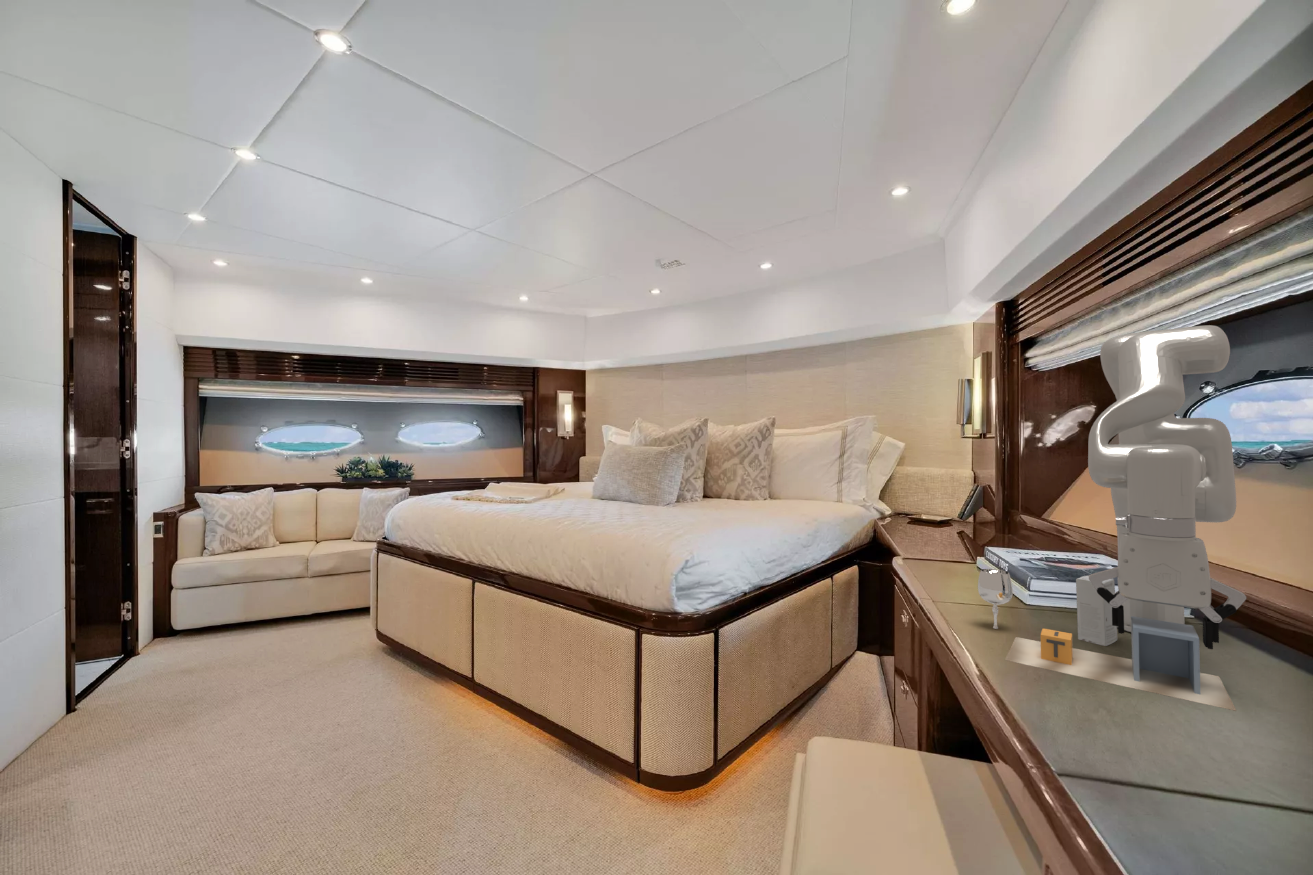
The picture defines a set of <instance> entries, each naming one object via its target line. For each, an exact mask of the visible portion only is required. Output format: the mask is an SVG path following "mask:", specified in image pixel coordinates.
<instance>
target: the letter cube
mask: <svg viewBox="0 0 1313 875" xmlns="http://www.w3.org/2000/svg"><path fill="white" fill-rule="evenodd" d="M1040 642H1041V659H1045V660H1050V661H1054V662H1059V663H1064V664H1069V665H1072V658H1073V652H1072V648H1073V633H1071V632H1064V631H1059V630H1055V629H1049V628H1042V629H1041V632H1040Z"/></svg>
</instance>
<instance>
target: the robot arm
mask: <svg viewBox="0 0 1313 875" xmlns="http://www.w3.org/2000/svg"><path fill="white" fill-rule="evenodd" d="M1230 345H1231V344H1230V342H1229V339H1228V335H1227V334H1226V332H1224V330H1223V329H1222V328H1221V327H1219V326H1217V325H1212V324H1211V325H1210V324H1209V325H1196V326H1187V327H1177V328H1168V329H1157V330H1156V329H1155V330H1148V331H1137V332H1131V333H1125V334H1120V335H1118V336H1114V337H1112V338H1108V339H1107V340H1105V341H1104V342H1103V343H1102V345H1101V348H1100V352H1099V353H1100V363H1101V368H1102V371H1103V374H1104V377H1105V379H1106V381H1107V382H1108V384H1109V386H1110V388H1111V390H1112V392H1113V394H1114V395H1115V399H1116V401H1115V402H1113V403H1112V404H1110V405H1109V406H1108V407H1107V408H1106V409H1104V411H1102V412H1101V413H1100V414H1099V415H1098V417H1097V418H1096V419H1095V421H1094V422H1093V423H1092V426H1091V428H1090V430H1089V434H1088V442H1087V443H1088V452H1087V453H1088V454H1087V455H1088V456H1087V458H1088V459H1087V463H1088V464H1087V468H1088V473H1089V474H1088V475H1089V476H1090V478H1091V480H1092V481H1093V483H1095V484H1096V485H1097V486H1098V487H1099V486H1100V487H1102V488H1109V489H1110V494H1111V500H1112V504H1113V510H1114V516H1115V526H1116V532H1117V537H1116V538H1117V566H1115V567H1113V568H1109V569H1105V570H1102V571H1097V572H1094V573H1092V574H1089V580H1090V582H1091V583H1092V585H1093V587H1094V588H1095V589H1096V591H1097V593H1098V594H1099V595H1100V596H1101V597H1102V598H1103V599H1104V600H1106V601H1107V602H1108V603H1109V604H1110V606H1111V607H1112V626H1117V634H1119V635H1123V634H1125V632H1128V633H1129V632H1130V633H1131V616H1133V617H1140V618H1147V619H1153V620H1160V621H1166V622H1173V623H1179V624H1185V623H1186V622H1185V608H1188V609H1189V608H1190V609H1199V611H1201V613H1203V614H1204V616H1203V617H1202V643H1203V645H1204V647H1205V648H1207V649H1209V650H1213V649H1214V646H1213V645H1214V643H1217V644H1219V643H1220V628H1219V627H1220V624H1219V623H1221V622H1222V621H1223V620H1225V619H1226V618H1228V617H1231V616H1232V615H1234V614H1236V612H1237V610H1238V609H1239V608H1240V607H1241V606H1242V605H1243V603H1245V601H1246V600H1247V595H1246V594H1245V593H1243V592H1242V591H1240V590H1238V589H1235V587H1231V586H1230V585H1227V584H1225V583H1223V582H1220V581H1218V580H1216V579H1215V578H1212V577H1211V574H1210V572H1211V571H1210V565H1209V559H1208V554H1207V553H1208V552H1207V549H1206V545H1205V542H1204V540H1203V539H1201V538H1199V537H1197V536H1196V535H1197V534H1196V533H1197V532H1196V530H1197V529H1196V523H1197V522H1198V523H1217V524H1218V523H1224V522H1228V521H1230V520H1231V519H1232V518H1233V517H1234V515H1235V514H1236V510H1237V491H1236V490H1237V488H1236V478H1235V467H1234V466H1235V465H1234V454H1233V444H1232V437H1231V433H1230V431H1229V429H1228V427H1227V425H1226V424H1225V423H1224V422H1223V421H1221V420H1219V419H1216V418H1211V417H1176V415H1175V412H1177V411H1179V410H1180V409H1181V408H1182V407H1183V405H1184V403H1185V402H1186V393H1185V385H1184V376H1183V375H1196V374H1197V375H1199V374H1211V373H1219V372H1220V371H1222V370H1224V369H1225V368H1226V367H1227V364H1228V362H1229V359H1230V356H1231V355H1230V354H1231V347H1230ZM1117 435H1118V444H1114V443H1113V444H1110V443H1109V442H1110V440H1112V438H1114V437H1115V436H1117ZM1115 578H1117V589H1118V590H1117V591H1115V594H1112V593H1111V592H1110V591H1109V590H1107V589H1106V588H1105V587H1104V585H1103V583H1102V581H1104V580H1108V579H1115ZM1212 590H1213V591H1215V592H1218V593H1220V594H1222V595H1224V596H1226V597H1227V599H1226V601H1225V602H1224V603H1222V604H1220V605H1218V606H1216V607H1213V606H1212V605H1211V603H1212Z"/></svg>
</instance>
